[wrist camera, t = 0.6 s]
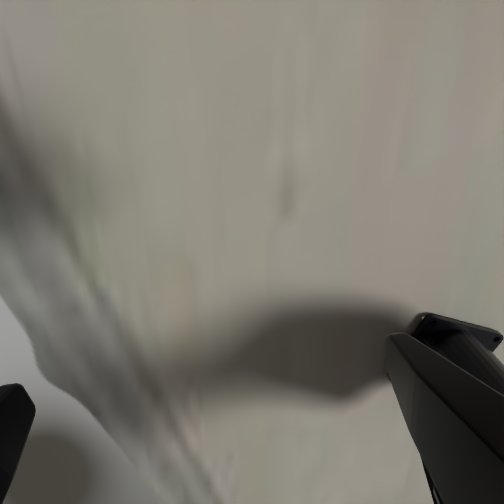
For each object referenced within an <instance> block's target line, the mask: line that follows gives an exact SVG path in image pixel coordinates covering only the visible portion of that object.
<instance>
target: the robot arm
mask: <svg viewBox="0 0 504 504" xmlns="http://www.w3.org/2000/svg"><path fill="white" fill-rule="evenodd" d="M431 321H432V322H431ZM502 340H503V335H502V334H500V333H499V332H498V331H495V330H492V329H488V328H484V327H480V326H476V325H472V324H469V323H465V322H461V321H457V320H453V319H449V318H445V317H442V316H438V315H434V314H430V315H427V316H426V317H425V318H424V319H423V320H422V322H421V323H420V325H419V326H418V328H417V329H416V331H415V332H414V334H413V335H412V336H410V335H408V334H407V333H404V332H400V333H392V334H388V335H387V336H386V342H385V365H386V369H387V377H388V379H389V380H390V381H391V383H392V386H393V389H394V391H395V394H396V397H397V400H398V402H399V405H400V408H401V411H402V413H403V416H404V419H405V422H406V424H407V427H408V429H409V432H410V434H411V436H412V438H413V441H414V443H415V445H416V447H417V449H418V451H419V453H420V456H421V459H422V463H423V467H424V471H425V474H426V477H427V481H428V484H429V488H430V491H431V495H432V498H433V501H434V504H504V365H503V364H502V363H501V362H500V360H499V359H498V358H497V357H496V356H495V355H494V354H493V353H492V352H493V351H494V350H495V349H496V348H497V346H498V345H499V344H500V343H501V342H502ZM35 411H36V410H35V405H34V403H33V402H32V400H31V398H30V397H29V395H28V393H27V392H26V390H25V389H24V387H23V386H22V385H21V384H17V383H15V384H7V385H3V386H0V504H3V501H4V499H5V496H6V495H7V492H8V490H9V487H10V485H11V482H12V480H13V478H14V475H15V472H16V469H17V466H18V464H19V461H20V458H21V455H22V452H23V449H24V446H25V443H26V440H27V437H28V434H29V431H30V428H31V426H32V423H33V420H34V416H35Z"/></svg>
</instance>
